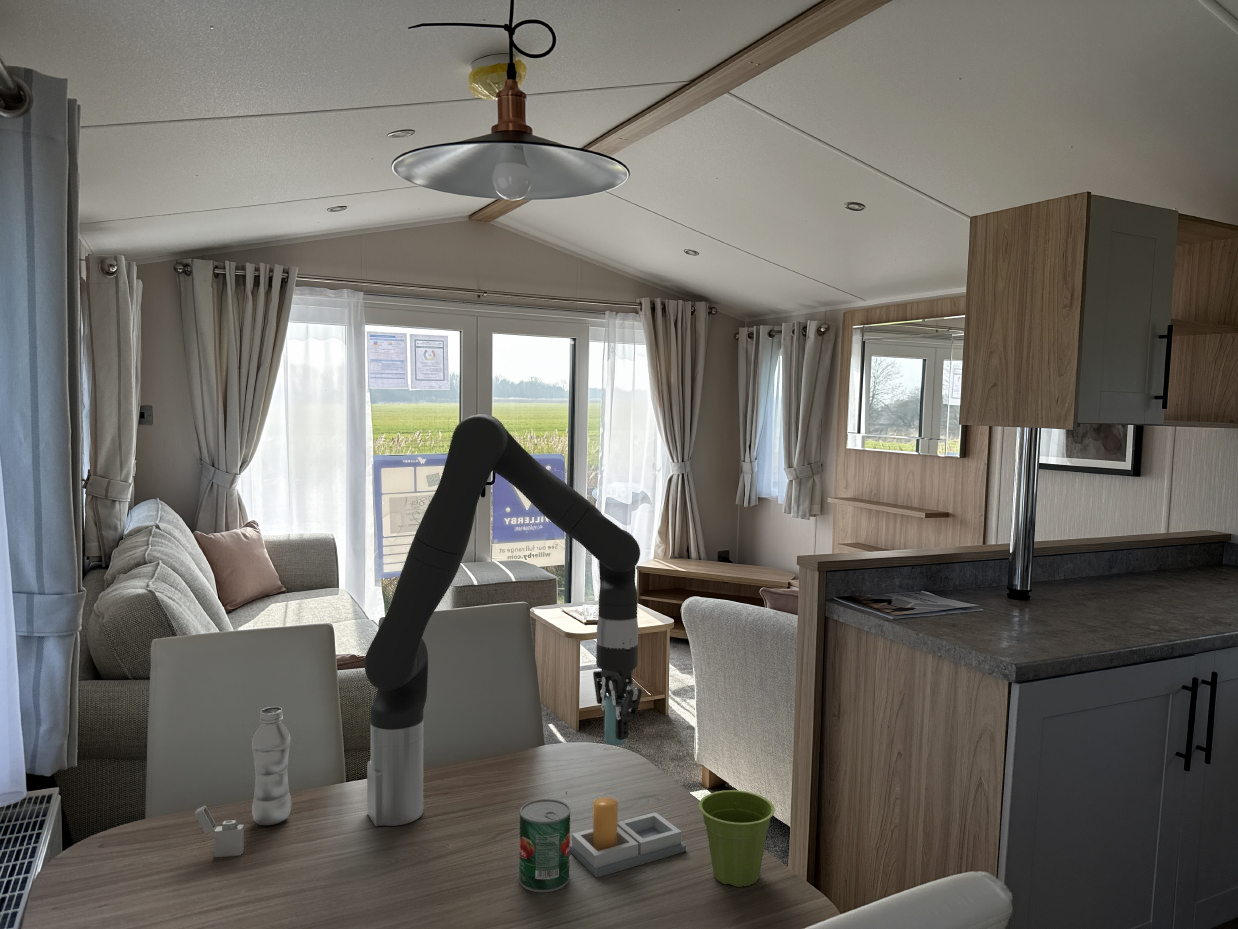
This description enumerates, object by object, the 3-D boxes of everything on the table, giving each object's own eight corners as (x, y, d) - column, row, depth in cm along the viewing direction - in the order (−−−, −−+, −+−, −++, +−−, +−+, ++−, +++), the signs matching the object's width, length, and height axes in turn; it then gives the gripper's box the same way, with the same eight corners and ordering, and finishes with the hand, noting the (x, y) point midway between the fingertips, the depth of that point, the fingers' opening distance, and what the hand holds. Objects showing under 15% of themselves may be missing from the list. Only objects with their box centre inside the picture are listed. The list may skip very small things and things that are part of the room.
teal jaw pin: (611, 746, 148) (612, 702, 147) (600, 739, 151) (601, 696, 151) (630, 742, 150) (631, 699, 149) (619, 735, 153) (620, 692, 153)
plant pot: (728, 849, 139) (729, 783, 139) (788, 877, 131) (789, 806, 131) (682, 874, 131) (683, 804, 131) (742, 906, 123) (744, 831, 122)
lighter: (244, 850, 137) (243, 802, 137) (241, 855, 135) (241, 807, 135) (197, 853, 136) (197, 805, 135) (194, 858, 134) (194, 810, 134)
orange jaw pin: (600, 859, 134) (600, 810, 133) (588, 848, 137) (588, 800, 137) (621, 853, 136) (622, 805, 135) (609, 842, 139) (610, 795, 139)
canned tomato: (509, 876, 130) (510, 807, 130) (551, 860, 135) (552, 794, 134) (536, 899, 124) (537, 826, 123) (579, 882, 129) (580, 812, 128)
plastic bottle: (298, 813, 150) (298, 704, 149) (279, 831, 143) (279, 717, 142) (264, 811, 151) (264, 703, 150) (244, 829, 144) (243, 715, 143)
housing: (596, 877, 130) (596, 859, 130) (567, 849, 139) (568, 831, 138) (685, 851, 138) (686, 833, 138) (653, 826, 147) (653, 809, 147)
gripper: (580, 634, 154) (579, 725, 155) (619, 653, 142) (617, 752, 142) (615, 630, 158) (613, 719, 158) (656, 647, 145) (654, 744, 146)
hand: (615, 734), depth 150 cm, fingers closed on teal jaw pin, 4 cm apart
